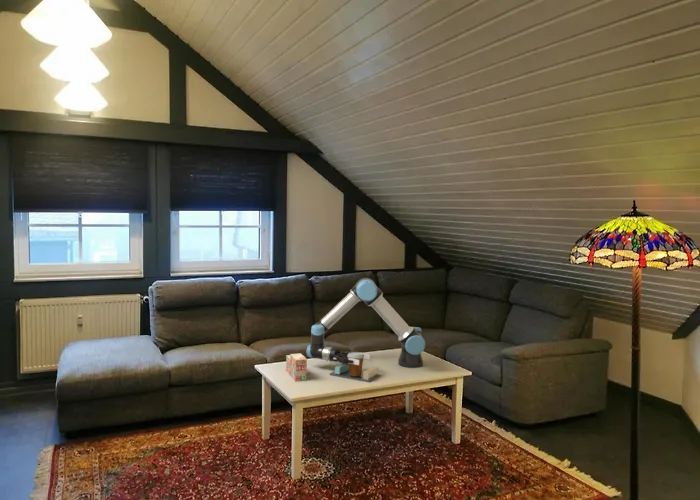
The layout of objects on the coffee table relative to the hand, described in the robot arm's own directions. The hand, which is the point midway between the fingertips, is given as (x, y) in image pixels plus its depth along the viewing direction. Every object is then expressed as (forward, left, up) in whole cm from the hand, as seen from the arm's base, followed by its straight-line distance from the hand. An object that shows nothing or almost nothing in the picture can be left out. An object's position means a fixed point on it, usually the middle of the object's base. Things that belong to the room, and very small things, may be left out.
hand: (364, 359), depth 314 cm
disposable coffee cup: (+5, 0, -9) cm, 10 cm away
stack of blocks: (+38, -2, -10) cm, 40 cm away
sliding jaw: (+12, -7, -9) cm, 16 cm away
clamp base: (+5, -3, -10) cm, 12 cm away
